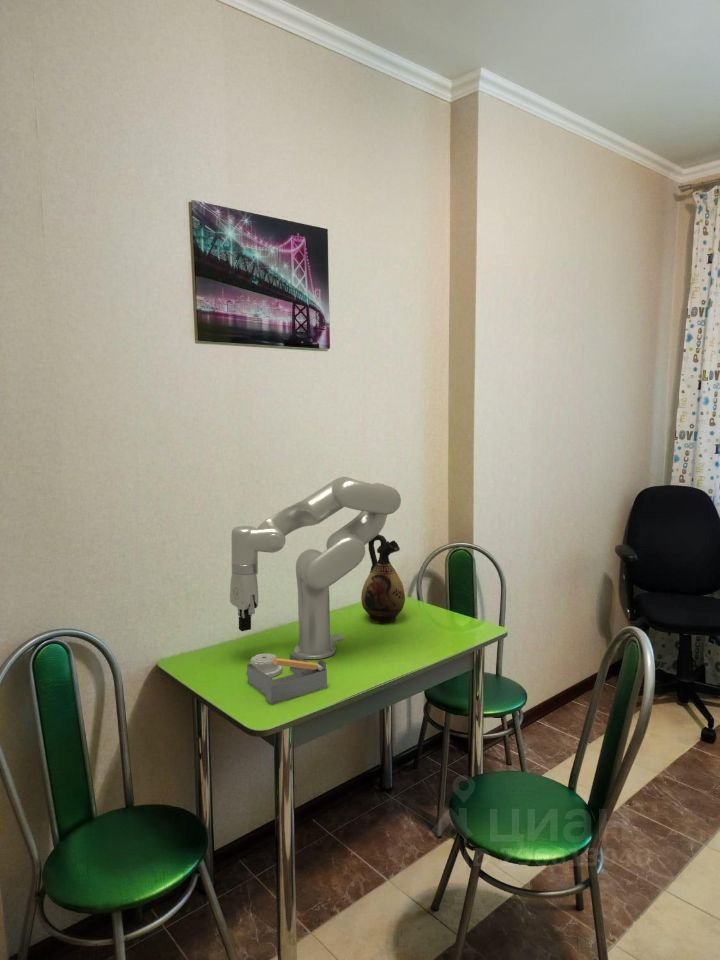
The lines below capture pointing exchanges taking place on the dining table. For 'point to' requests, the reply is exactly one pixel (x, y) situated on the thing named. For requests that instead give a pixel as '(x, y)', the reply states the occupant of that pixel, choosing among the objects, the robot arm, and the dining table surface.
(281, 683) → the bracket
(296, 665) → the bar
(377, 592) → the ceramic jug
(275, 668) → the mechanical component
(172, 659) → the dining table surface
